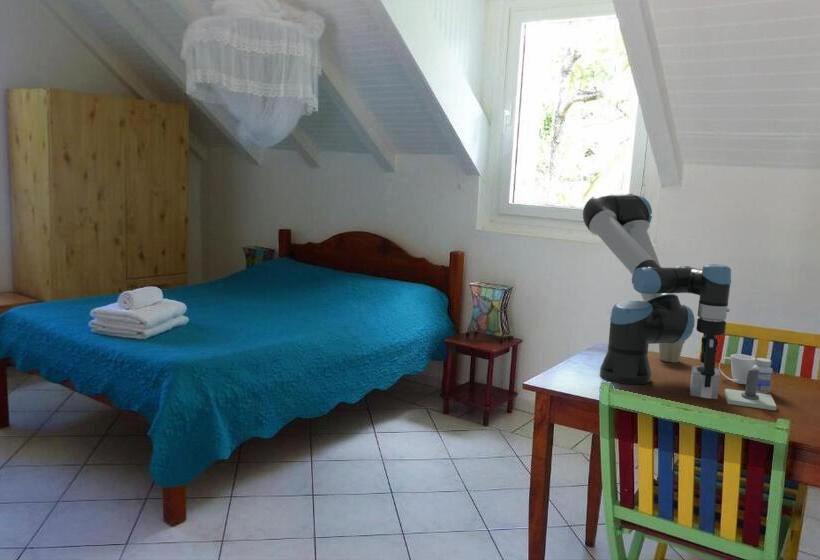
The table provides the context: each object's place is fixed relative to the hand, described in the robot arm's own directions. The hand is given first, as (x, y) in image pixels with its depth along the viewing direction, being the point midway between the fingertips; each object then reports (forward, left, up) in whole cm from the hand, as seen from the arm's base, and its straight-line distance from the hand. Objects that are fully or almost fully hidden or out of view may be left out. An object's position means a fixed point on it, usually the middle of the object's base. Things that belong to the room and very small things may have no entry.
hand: (704, 391), depth 195 cm
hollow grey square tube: (0, 0, -1) cm, 1 cm away
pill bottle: (+16, +11, -1) cm, 19 cm away
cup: (+10, +19, -1) cm, 22 cm away
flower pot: (-9, +35, -1) cm, 36 cm away
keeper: (+12, -1, -1) cm, 12 cm away
